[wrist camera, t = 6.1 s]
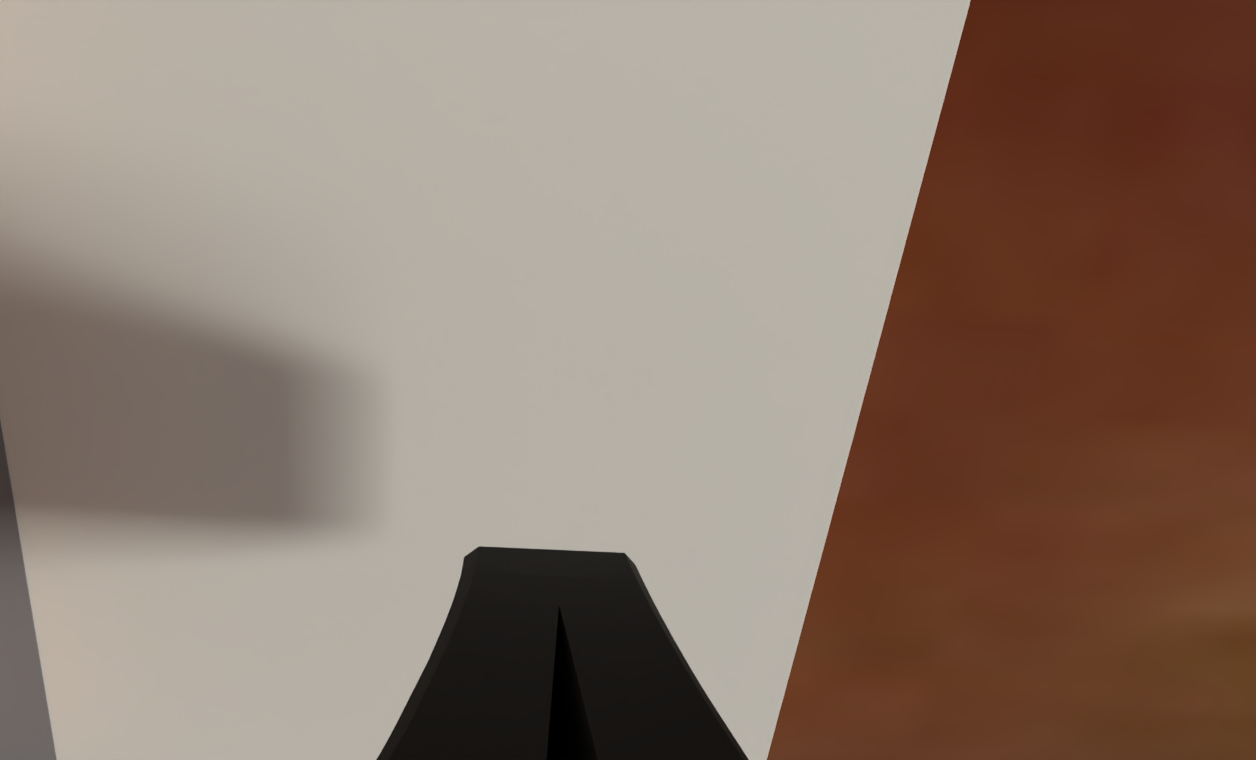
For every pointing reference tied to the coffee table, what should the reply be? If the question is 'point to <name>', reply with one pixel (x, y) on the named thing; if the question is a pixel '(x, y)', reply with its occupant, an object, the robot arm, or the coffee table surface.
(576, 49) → the push mat
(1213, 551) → the coffee table surface
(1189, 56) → the coffee table surface
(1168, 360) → the coffee table surface
